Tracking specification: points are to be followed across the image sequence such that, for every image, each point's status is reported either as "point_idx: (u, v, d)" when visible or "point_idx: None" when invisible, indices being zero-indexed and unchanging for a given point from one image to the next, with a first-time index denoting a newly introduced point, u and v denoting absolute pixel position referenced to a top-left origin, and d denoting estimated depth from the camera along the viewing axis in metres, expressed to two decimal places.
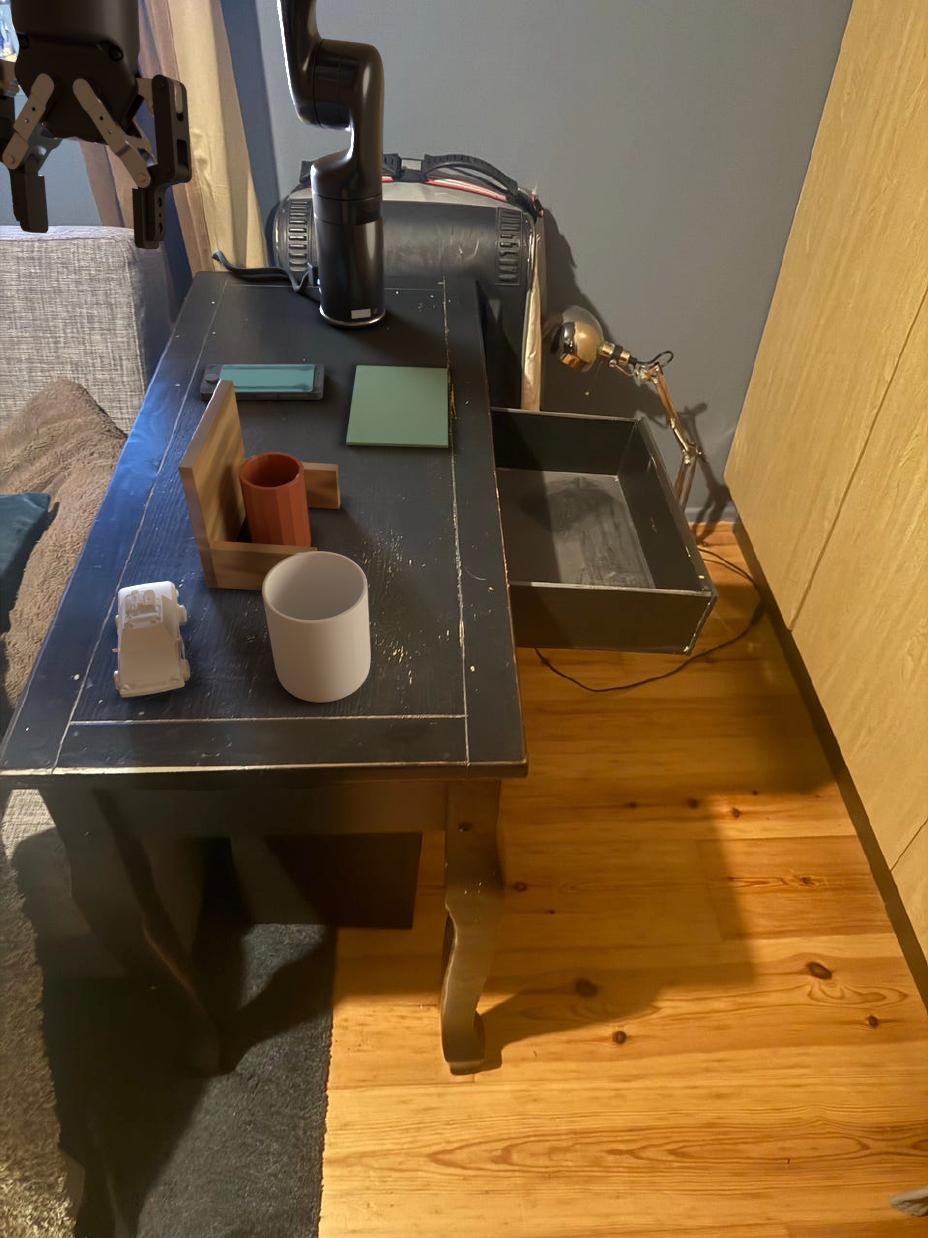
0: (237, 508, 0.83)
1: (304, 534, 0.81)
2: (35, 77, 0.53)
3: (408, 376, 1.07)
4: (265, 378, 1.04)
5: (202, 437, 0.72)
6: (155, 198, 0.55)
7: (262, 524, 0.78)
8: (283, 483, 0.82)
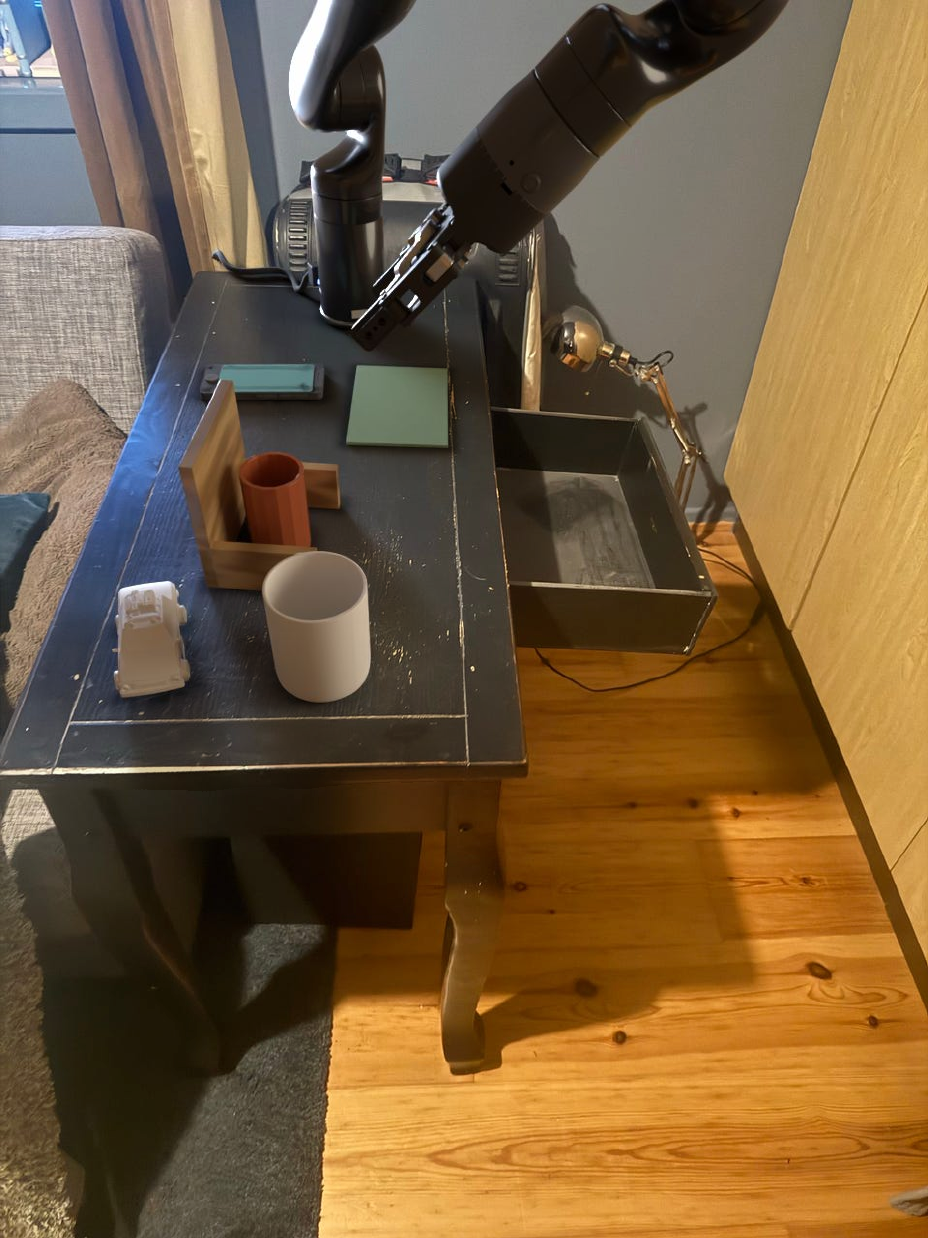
0: (237, 508, 0.83)
1: (304, 534, 0.81)
2: None
3: (408, 376, 1.07)
4: (265, 378, 1.04)
5: (202, 437, 0.72)
6: None
7: (262, 524, 0.78)
8: (283, 483, 0.82)
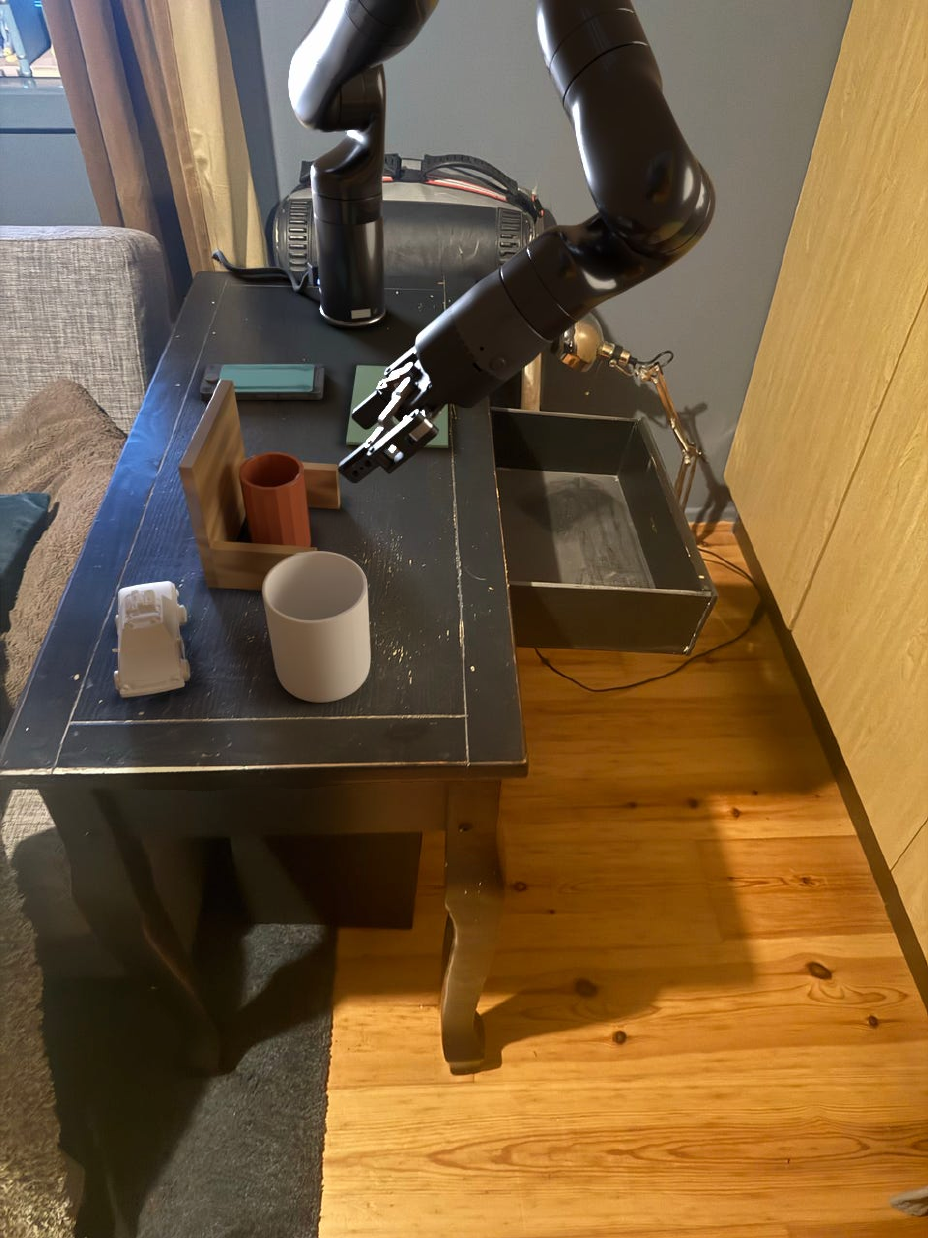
0: (237, 508, 0.83)
1: (304, 534, 0.81)
2: None
3: None
4: (265, 378, 1.04)
5: (202, 437, 0.72)
6: None
7: (262, 524, 0.78)
8: (283, 483, 0.82)
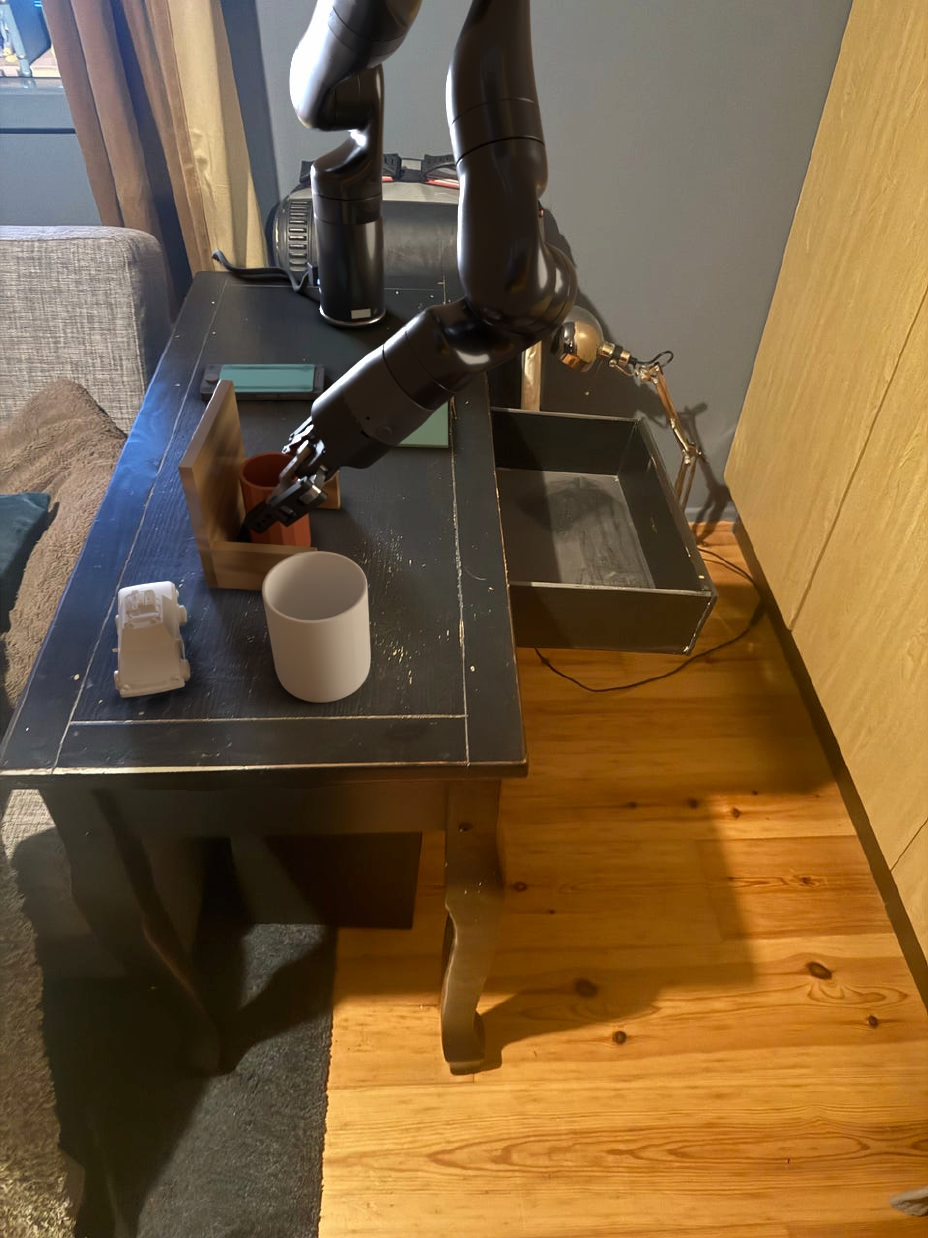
0: (237, 508, 0.83)
1: (304, 534, 0.81)
2: None
3: None
4: (265, 378, 1.04)
5: (202, 437, 0.72)
6: None
7: None
8: None
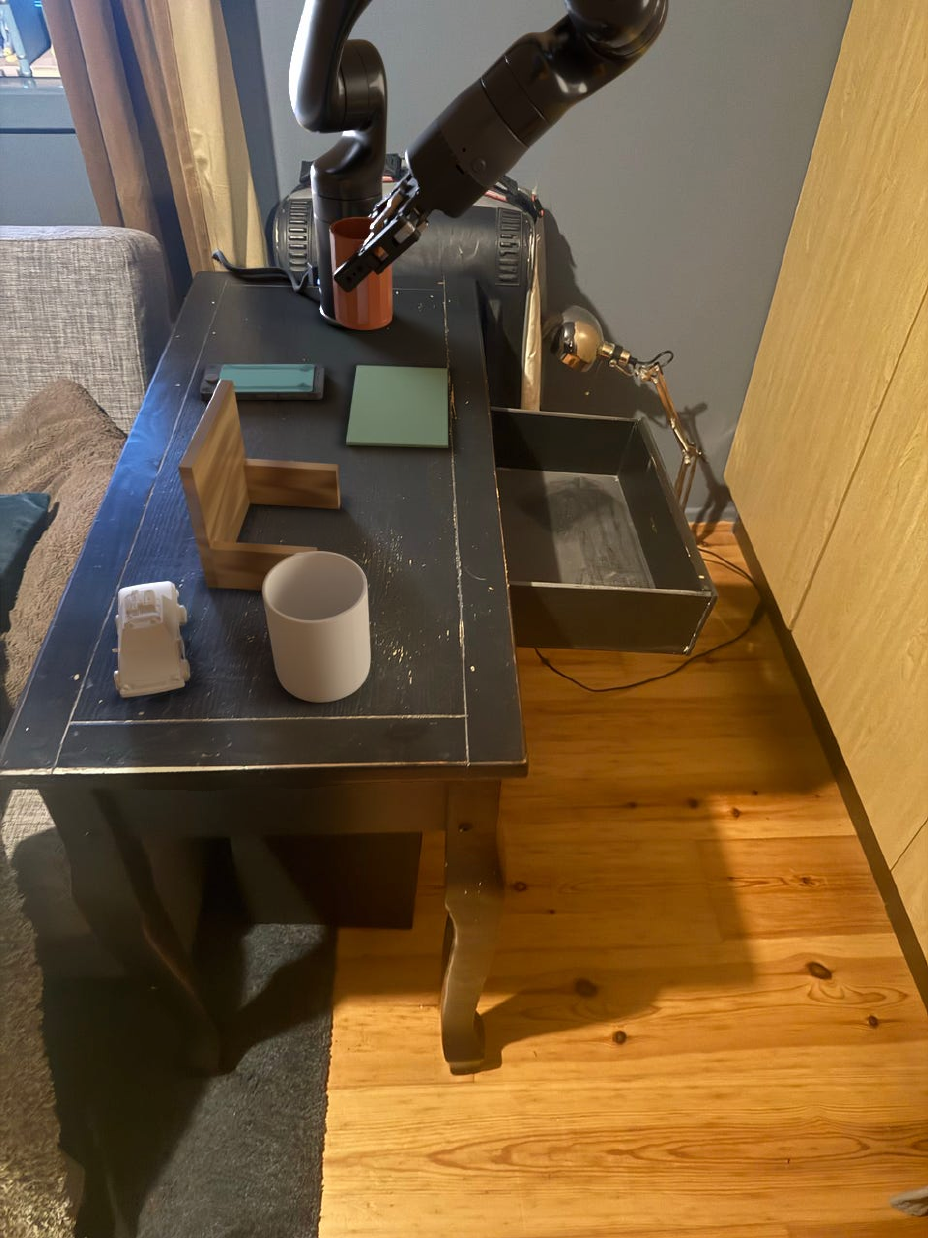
0: (237, 508, 0.83)
1: (388, 302, 0.84)
2: None
3: (408, 376, 1.07)
4: (265, 378, 1.04)
5: (202, 437, 0.72)
6: None
7: None
8: None
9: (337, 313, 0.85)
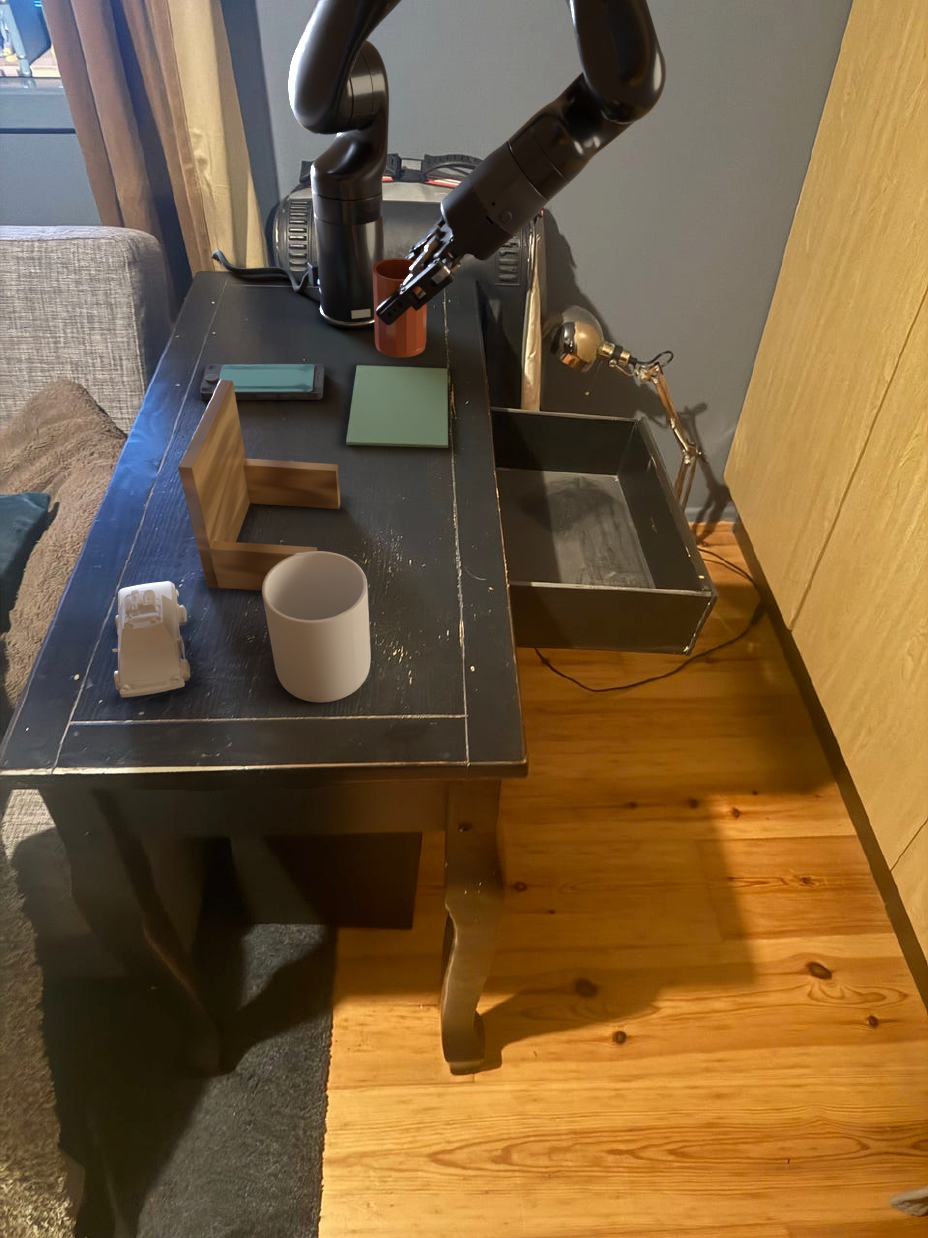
0: (237, 508, 0.83)
1: (423, 332, 0.95)
2: None
3: (408, 376, 1.07)
4: (265, 378, 1.04)
5: (202, 437, 0.72)
6: None
7: None
8: None
9: (378, 342, 0.95)
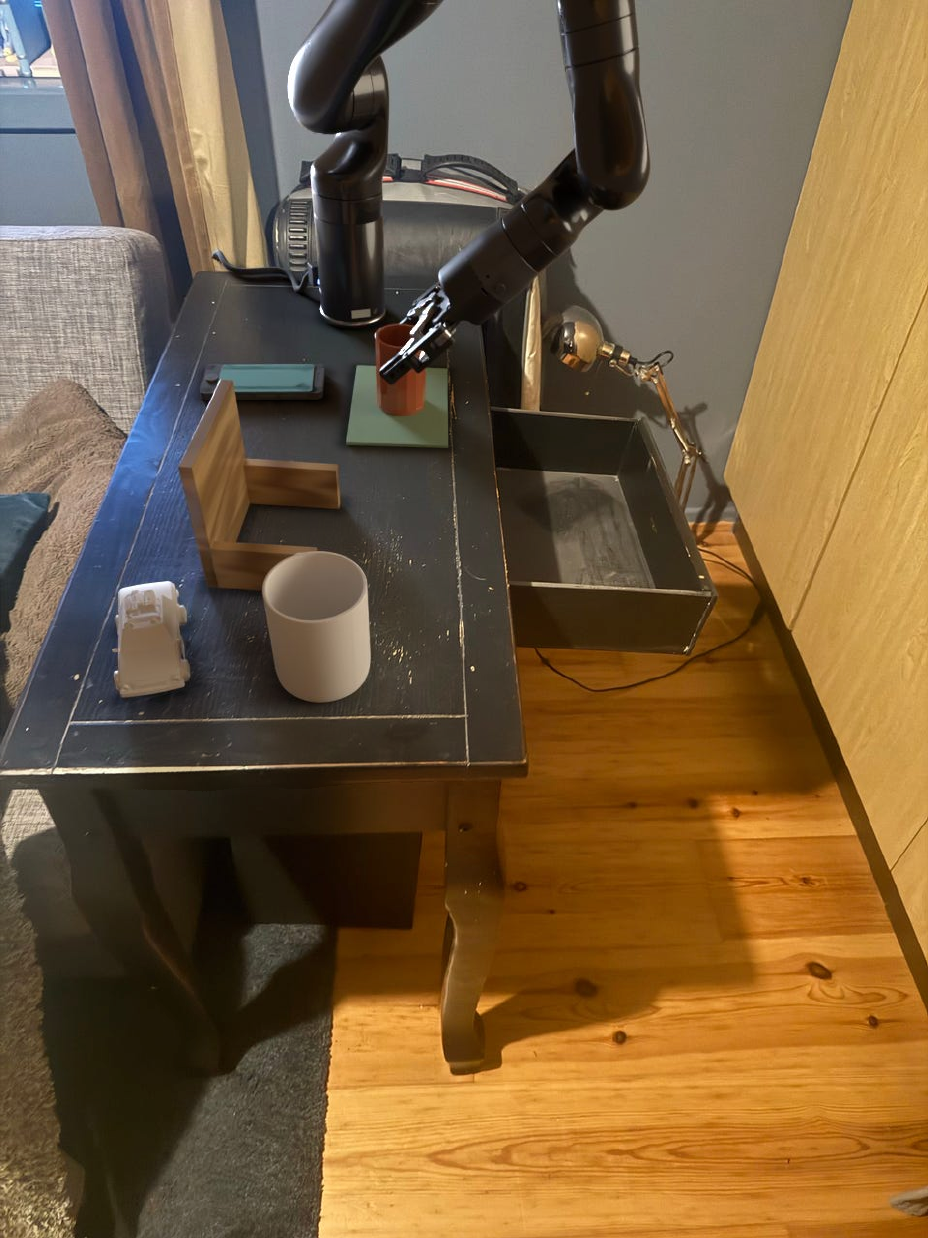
0: (237, 508, 0.83)
1: (422, 393, 1.00)
2: None
3: None
4: (265, 378, 1.04)
5: (202, 437, 0.72)
6: None
7: None
8: None
9: (379, 402, 1.01)
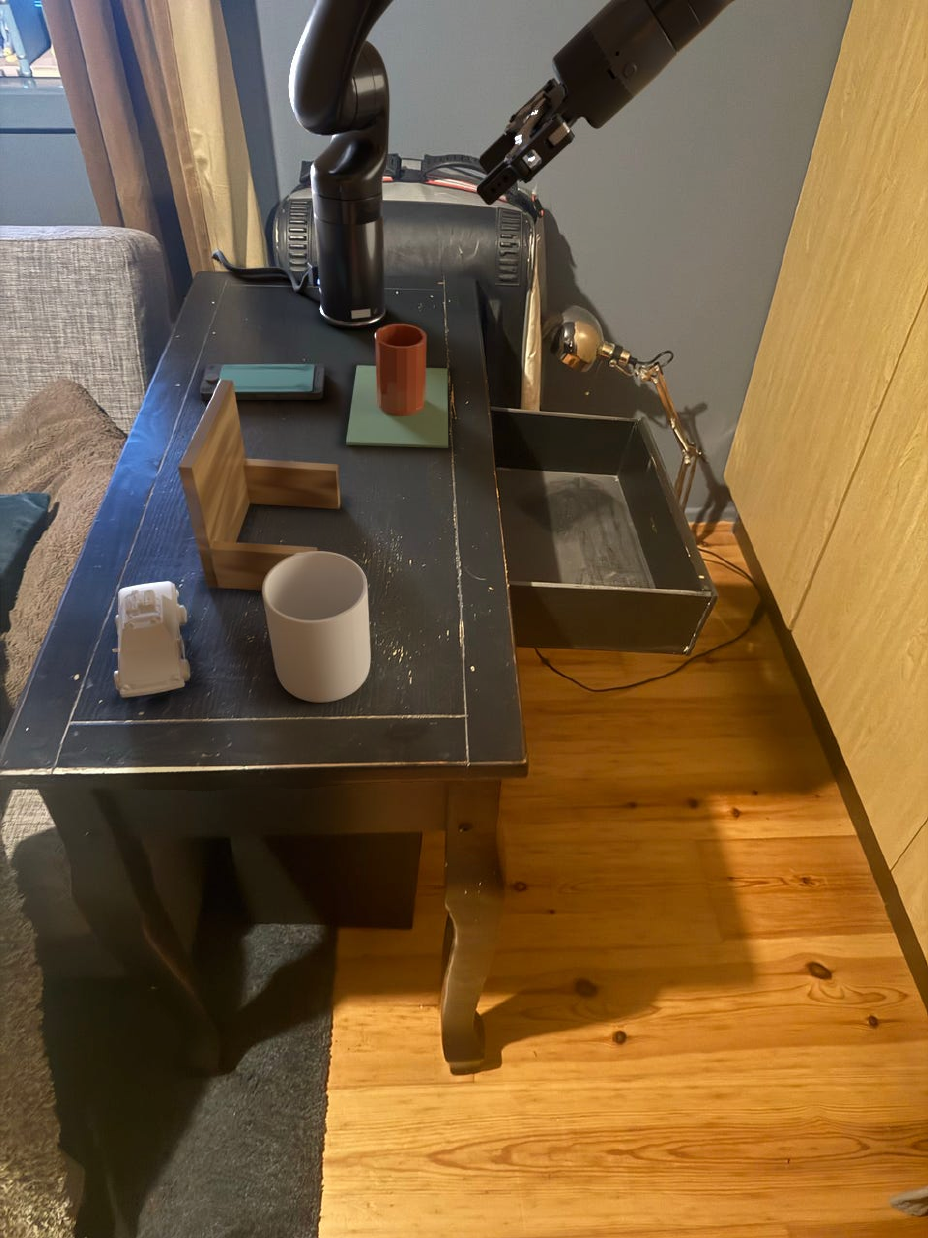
0: (237, 508, 0.83)
1: (422, 393, 1.00)
2: None
3: None
4: (265, 378, 1.04)
5: (202, 437, 0.72)
6: None
7: (392, 381, 0.97)
8: None
9: (379, 402, 1.01)
